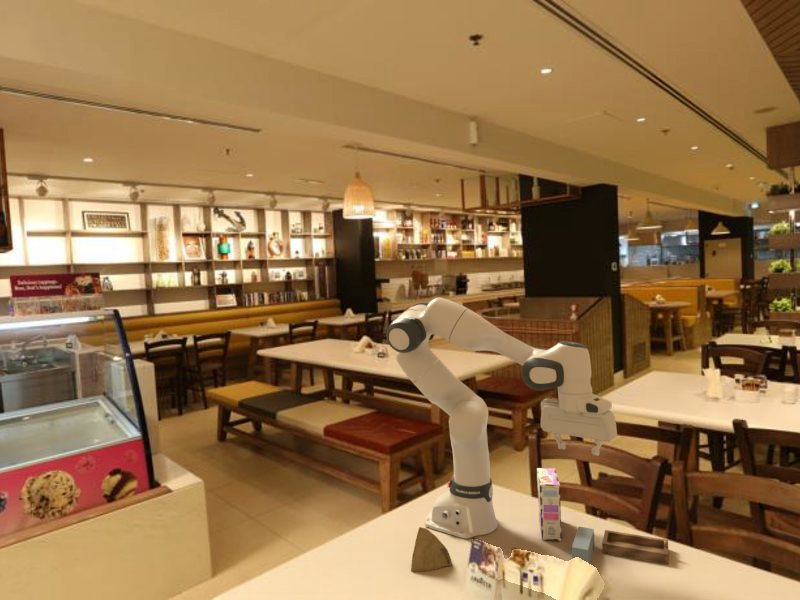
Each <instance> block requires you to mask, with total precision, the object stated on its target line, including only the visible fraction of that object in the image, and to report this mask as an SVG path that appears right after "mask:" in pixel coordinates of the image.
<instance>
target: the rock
mask: <svg viewBox="0 0 800 600" xmlns="http://www.w3.org/2000/svg"><path fill="white" fill-rule="evenodd" d="M416 534H417V535H416V538H415V543H414V547H413V553H412V556H411V557H412V558H411V565H410V566H411V568H410V572H411V573H413V572H427V571H432V570H436V569H441V568H443V567H449V566H452V565H453V562H452V558H451V555H450V553H449V551H448V549H447V547H446V546H445V544H443V543H442V541H441V540H440V539H439V538H438V537H437V536H436V535H435V534H434V533H432V531H430V530H429V528H428V529H427V528H426V527H421V526H420V527H419V528H418V531H417V533H416Z"/></svg>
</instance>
